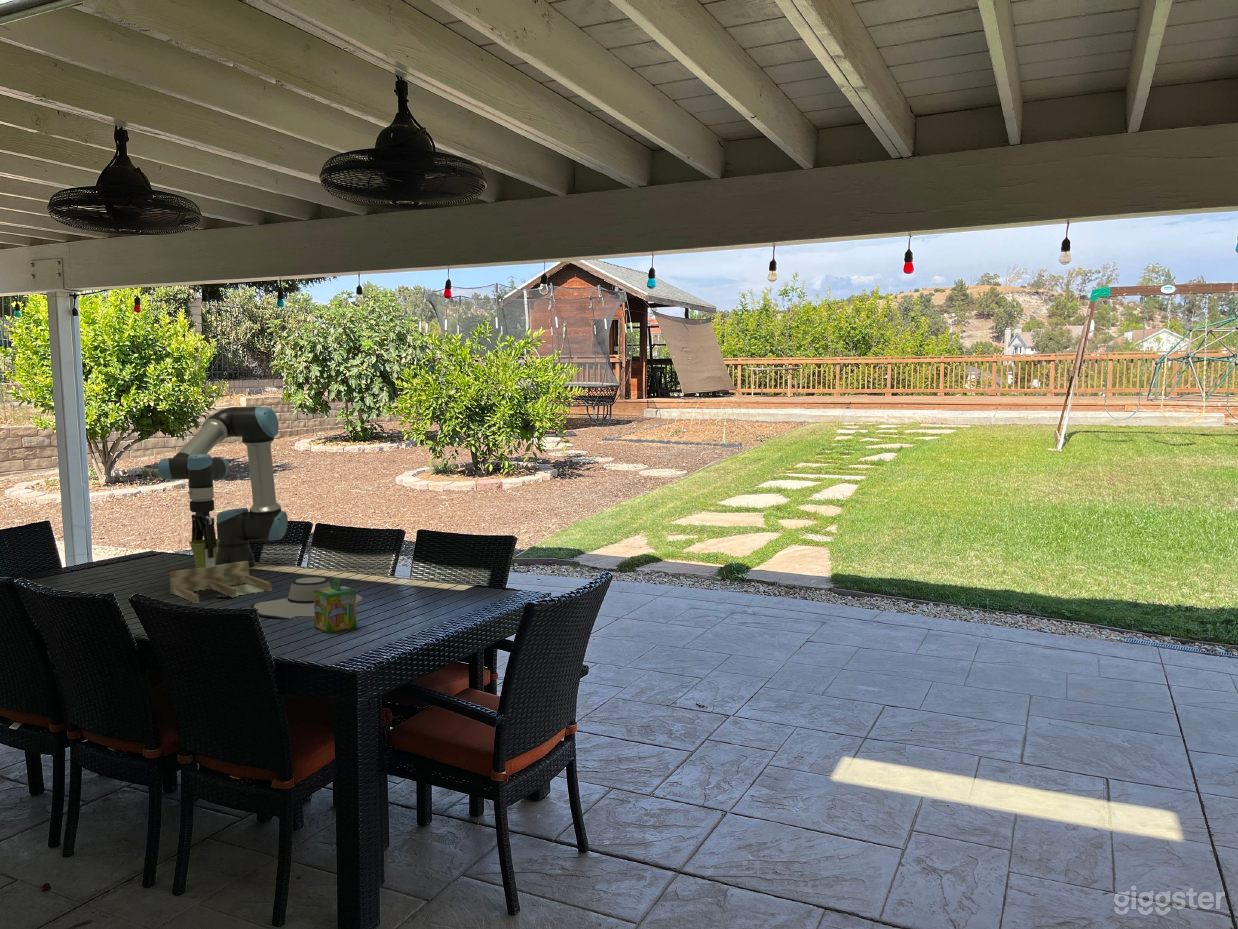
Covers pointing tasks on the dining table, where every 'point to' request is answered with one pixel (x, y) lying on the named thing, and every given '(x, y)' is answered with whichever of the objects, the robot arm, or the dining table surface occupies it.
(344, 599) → the chalk box
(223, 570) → the notch rack
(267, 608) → the sun hat
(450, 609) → the dining table surface
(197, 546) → the plant pot
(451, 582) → the dining table surface
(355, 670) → the dining table surface
